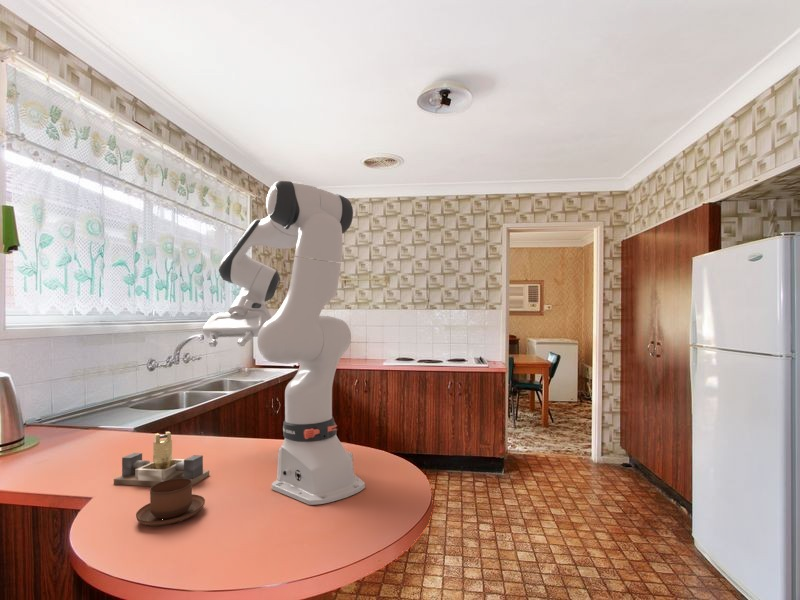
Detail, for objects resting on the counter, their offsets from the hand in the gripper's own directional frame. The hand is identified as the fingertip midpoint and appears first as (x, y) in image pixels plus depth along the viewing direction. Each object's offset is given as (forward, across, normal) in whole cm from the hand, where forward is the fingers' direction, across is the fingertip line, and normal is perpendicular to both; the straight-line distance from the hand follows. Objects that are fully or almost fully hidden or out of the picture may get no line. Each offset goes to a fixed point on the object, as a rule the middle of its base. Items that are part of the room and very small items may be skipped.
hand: (226, 345), depth 124 cm
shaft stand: (+37, -4, +7) cm, 38 cm away
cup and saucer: (+49, +13, -4) cm, 51 cm away
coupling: (+36, -4, +6) cm, 37 cm away
